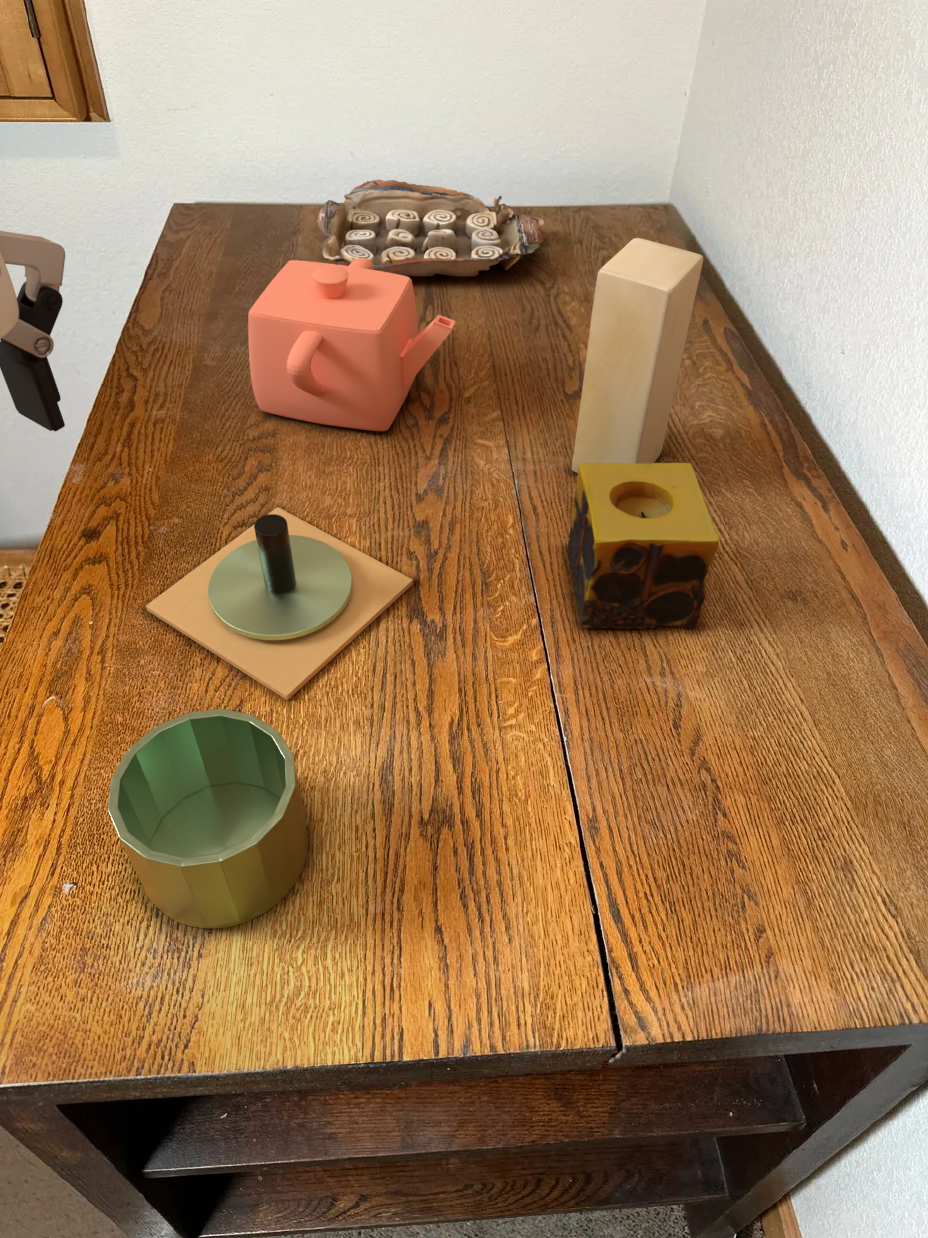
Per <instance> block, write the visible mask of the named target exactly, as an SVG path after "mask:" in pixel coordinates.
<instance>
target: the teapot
mask: <svg viewBox="0 0 928 1238" xmlns="http://www.w3.org/2000/svg"><path fill="white" fill-rule="evenodd" d="M247 315H248V319H247V322H248V323H247V325H248V327H247V329H248V332H247V333H248V359H249V371H250V376H251V377H250V378H251V385H252V391H253V392H252V393H253V395H254V398H255V401H256V404H257V406H258V409H259V410H260V411H262V412H264V413H268V414H270V415H271V414H272V415H276V416H281V417H284V418H288V419H294V420H300V421H304V422H309V423H314V424H320V425H325V426H332V427H340V428H347V429H355V430H363V431H371V432H372V431H373V432H386V431H388V430H389V429H390V427H391V426H392V424H393V423H394V421H395V419H396V417H397V415H398V414H399V412H400V409H401V408H402V405H403V404H404V402H405V400H406V398H407V396H408V394H409V392H410V390H411V387H412V385H413V383H414V381H415V378H416V376H417V374H418V373H419V372H420V371H421V369H422V368H423V367H424V366H425V365H426V363H427V362H428V361H429V359H430V358H431V357H432V356H433V355H434V353H435V352H436V351H437V350H438V349H439V347H440V346H441V345H442V343H443V342H444V341H445V340H446V338H448V336H449V335H450V334H451V333H452V331H453V329H454V327H455V325H456V320H454V319H451V318H449V317H447V316H444V315H441V314H437V315H436V317H435V318H434V319H433V320H431V322H430V323H428V324H427V326H426V327H424V329H422V330H421V331H419V321H418V320H419V319H418V312H417V305H416V298H415V292H414V285H413V280H412V279H411V278H410V276H403V275H399V274H393V273H388V272H382V271H376V270H374V267H373V263H372V262H371V261H370V260H369V259H367V258H357V259H355V260H354V261H353V262H351V264H348V266H344V265H338V264H337V263H336V264H335V263H327V262H320V261H311V260H309V261H308V260H299V259H295V260H294V259H291V260H290V259H289V260H288V261H287V263H285V264H284V266H283V267H282V268H281V269H280V270H279V271H278V273H277V274H276V275H275V276H274V278H273V279H272V280H271V281H270V283H269V284H268V285H267V286H266V288H264V290H263V292H261V294H260V295H259V296H258V298H257V299H256V301H255V302H254V304H253V305H252V306H251V307H250V309H249V311H248V314H247Z"/></svg>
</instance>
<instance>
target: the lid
mask: <svg viewBox="0 0 928 1238" xmlns="http://www.w3.org/2000/svg"><path fill="white" fill-rule="evenodd" d="M268 514H269V513H268ZM254 524H255V525H254ZM254 524H253V525H254V529H255V534H256V540H254V541H251V542H249V543H247V544H244V545H242V546H240V547H239V548H237V549H235V550H234V551H232V552H231V553H229V554H228V555H227V556H226V557H225V558H223V560H222V561H221V562H220V563H219V564H218V565H217V567H216V568H215V570H214V571H213V573H212V575H211V578H210V581H209V585H208V597H209V601H210V605H211V608H212V610H213V612H214V614H215V615H216V617H217V618H218V619H219V620H220V621H221V622H222V623H223V624H224V625H225V626H226V627H228V628H229V629H231V630H233V631H234V632H236V633H238V634H241V635H244V636H246V637H250V638H254V639H261V640H286V639H292V638H297V637H301V636H304V635H307V634H310V633H312V632H314V631H317V630H319V629H321V628H322V627H324V626H326V625H327V624H329V623H330V622H331V621H332V620H334V619H335V618H336V617H337V616H338V615H339V614H340V613H341V612H342V610H343V609H344V608H345V606H346V604H347V602H348V601H349V598H350V595H351V591H352V576H351V571H350V568H349V566H348V563H347V562H346V560H345V559H344V557H343V556H342V555H341V554H340V553H339V552H338V551H337V550H335V549H334V548H333V547H331V546H329V545H328V544H326V543H324V542H322V541H319V540H316V539H313V538H309V537H305V536H297V535H289V531H288V525H287V521H286V519H285V518H284V517H282V516H280V515H276V514H269V515H267V514H265V515H262V516H261V517H259V518H257V519H256V521H255V522H254Z"/></svg>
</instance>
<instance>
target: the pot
mask: <svg viewBox="0 0 928 1238" xmlns="http://www.w3.org/2000/svg"><path fill="white" fill-rule="evenodd" d="M109 784H110V785H109V793H108V803H107V812H108V815H109V817H110V819H111V822H112V824H113V826H114V829H115V831H116V834H117V836H118V839H119V841H120V842H121V845H122V847H123V849H124V850H125V853H126V855H127V857H128V860H129V861H130V863H131V866H132V867H133V869H134V872H135V873H136V876H137V878H138V879H139V881H140V883H141V886H142V887H143V890H144V892H145V894H146V896H147V898H148V900H149V901H150V902H152V903H153V905H154V906H155V907H156V908H157V910H159V911H160V912H161V913H163V914H164V915H165V916H167V917H168V918H170V919H171V920H173V921H176V922H178V923H180V924H183V925H185V926H189V927H194V928H199V929H210V930H211V929H227V928H229V927H235V926H238V925H239V926H240V925H242V924H244V923H248V922H250V921H253V920H254V919H257V918H259V917H260V916H262V915H263V914H265V913H267V912H269V911H270V910H271V909H272V908H274V907H275V906H276V905H278V904H279V903H280V902H281V901H282V900H283V899H284V898H285V897H286V896H287V895H288V893H289V892H290V891H291V890H292V889H293V887H294V886H295V884H296V883H297V881H298V879H299V878H300V876H301V875H302V871H303V869H304V867H305V863H306V859H307V856H308V850H309V837H308V828H307V818H306V813H305V807H304V803H303V797H302V792H301V787H300V781H299V776H298V770H297V765H296V759H295V757H294V754H293V752H292V751H291V748H290V747H289V746H288V744H287V741H285V739H284V737H283V736H282V734H281V732H280V731H278V730H277V729H276V728H274V727H273V726H271V725H270V724H269V723H267V722H266V721H264V720H262V719H260V718H259V717H258V716H257V715H254V714H249V713H245V712H241V711H236V710H230V709H228V708H227V709H226V708H213V709H205V710H197V711H188V712H185V713H182V714H180V715H179V716H176V717H174V718H171V719H169V720H166V721H165V722H162V723H159V724H157V725H155V726H154V727H152V728H151V729H149V731H147V732H146V733H145V734H144V735H143V736H142V737H140V739H139V740H137V741H136V742H135V743H134V744H132V745H131V746H130V747H129V748H128V749H127V750H126V752H125V753H124V755H123V757H122V758H121V760H120V762H119V764H118V765H117V767H116V768H115V771H114V772H113V774H112V776H111V779H110V783H109Z"/></svg>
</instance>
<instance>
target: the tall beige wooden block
mask: <svg viewBox="0 0 928 1238" xmlns="http://www.w3.org/2000/svg"><path fill="white" fill-rule="evenodd" d="M703 263H704V256H703V255H702V254H700V253H696V252H693V251H689V250H685V249H682V248H678V247H675V246H671V245H668V244H663V243H659V242H655V241H652V240H649V239H645V238H641V237H634V238H633V239H632V240H631V239H630V241H629V242H628V243H627V244H626V245H625V246H624V247H623V248H621V249H620V250H619V251H618V252H616V254H615V255H613V257H611V258H610V260H609V261H607V262H606V263H605V264H604V265H603V266H602V267H601V268H600V269H599V270H598V272H597V276H596V283H595V288H594V296H593V302H592V311H591V318H590V323H589V327H590V329H589V335H588V342H587V343H588V344H587V351H586V358H585V364H584V365H585V366H584V373H583V381H582V388H581V389H582V390H581V396H580V404H579V411H578V418H577V426H576V433H575V441H574V448H573V449H574V450H573V454H572V461H571V471H572V472H573V473H576V474H578V468H579V465H581V464H609V463H616V464H642V463H656V461H657V460H658V458H659V457H660V455H661V453H662V452H663V451H662V450H663V447H664V443H665V438H666V433H667V427H668V424H669V419H670V414H671V410H672V405H673V401H674V396H675V391H676V387H677V383H678V377H679V373H680V369H681V364H682V359H683V355H684V350H685V345H686V341H687V336H688V331H689V328H690V323H691V318H692V313H693V309H694V304H695V299H696V295H697V291H698V286H699V282H700V277H701V273H702V268H703Z"/></svg>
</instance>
